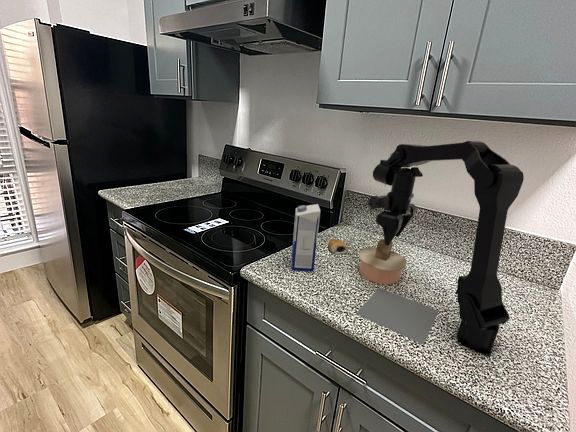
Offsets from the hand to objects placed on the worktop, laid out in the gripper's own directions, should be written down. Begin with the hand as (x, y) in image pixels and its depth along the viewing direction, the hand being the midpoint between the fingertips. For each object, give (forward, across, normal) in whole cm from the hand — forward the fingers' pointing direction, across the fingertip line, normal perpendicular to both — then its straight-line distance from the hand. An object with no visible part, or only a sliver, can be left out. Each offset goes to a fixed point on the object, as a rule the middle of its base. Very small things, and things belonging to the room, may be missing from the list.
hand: (391, 240), depth 92 cm
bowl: (+12, 0, -2) cm, 12 cm away
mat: (+12, +17, +9) cm, 23 cm away
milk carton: (+12, +12, -23) cm, 29 cm away
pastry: (+12, -7, -20) cm, 25 cm away
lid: (+7, +1, -2) cm, 7 cm away
